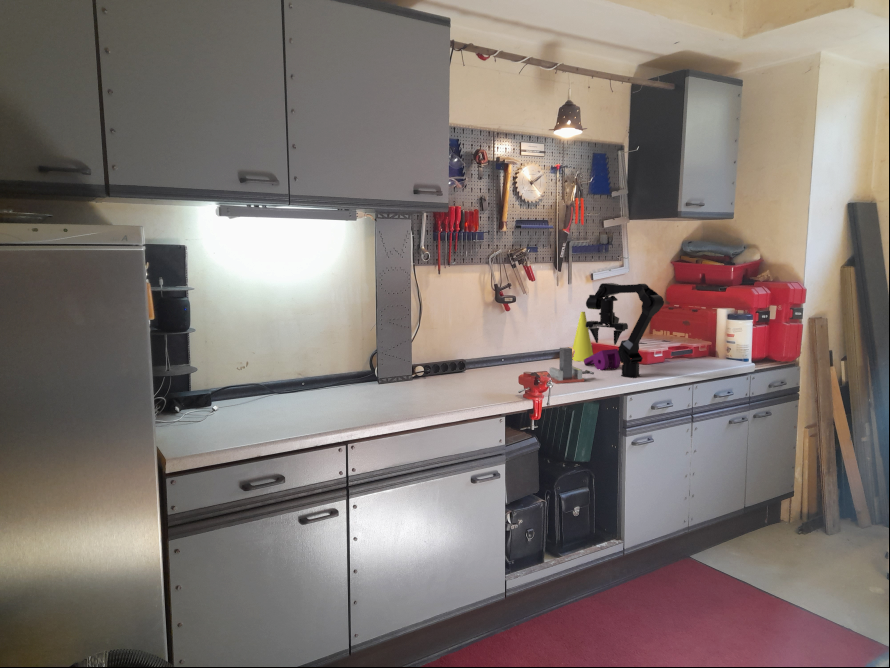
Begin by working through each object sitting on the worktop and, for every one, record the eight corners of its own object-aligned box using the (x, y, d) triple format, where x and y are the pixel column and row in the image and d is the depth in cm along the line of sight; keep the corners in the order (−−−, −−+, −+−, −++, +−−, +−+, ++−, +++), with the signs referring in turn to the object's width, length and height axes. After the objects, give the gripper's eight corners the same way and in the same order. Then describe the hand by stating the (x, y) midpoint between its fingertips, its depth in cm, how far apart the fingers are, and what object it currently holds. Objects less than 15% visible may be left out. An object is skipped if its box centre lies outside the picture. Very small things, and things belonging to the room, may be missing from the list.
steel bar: (567, 376, 256) (568, 347, 254) (571, 378, 252) (572, 348, 251) (559, 377, 255) (559, 347, 253) (563, 379, 251) (563, 349, 250)
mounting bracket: (584, 377, 289) (606, 367, 273) (579, 361, 291) (601, 350, 276) (599, 376, 293) (622, 365, 277) (594, 359, 295) (617, 348, 279)
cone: (565, 359, 307) (565, 311, 304) (579, 356, 315) (580, 310, 312) (584, 362, 298) (585, 313, 295) (598, 359, 306) (599, 311, 303)
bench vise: (585, 376, 261) (585, 365, 261) (595, 380, 253) (595, 369, 252) (547, 379, 257) (547, 367, 256) (556, 383, 248) (556, 371, 247)
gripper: (633, 310, 269) (632, 343, 271) (597, 308, 282) (596, 340, 284) (622, 311, 261) (621, 346, 263) (585, 309, 274) (584, 342, 276)
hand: (606, 343), depth 272 cm, fingers open, 9 cm apart
